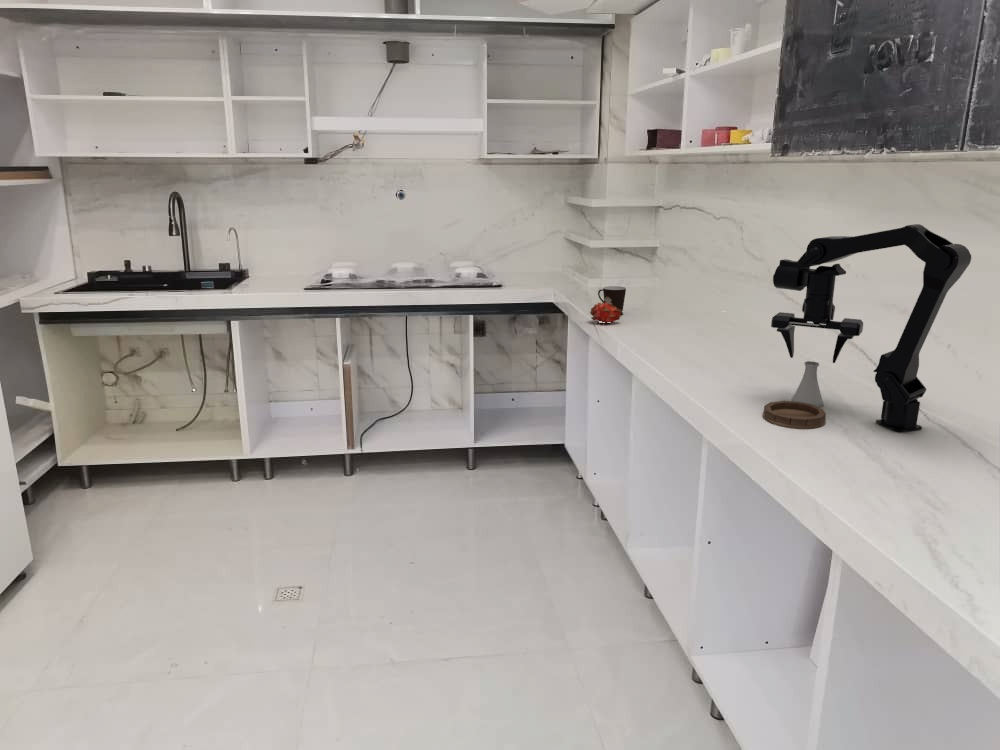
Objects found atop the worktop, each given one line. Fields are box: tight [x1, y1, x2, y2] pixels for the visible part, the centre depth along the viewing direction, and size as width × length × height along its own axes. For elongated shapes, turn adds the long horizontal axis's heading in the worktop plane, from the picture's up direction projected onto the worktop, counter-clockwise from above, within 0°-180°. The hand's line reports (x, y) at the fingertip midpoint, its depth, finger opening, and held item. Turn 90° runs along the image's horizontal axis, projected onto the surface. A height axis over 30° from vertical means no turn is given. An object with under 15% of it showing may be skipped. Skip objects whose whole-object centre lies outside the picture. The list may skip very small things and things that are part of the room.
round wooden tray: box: [762, 400, 827, 430], centre depth 161 cm, size 13×13×2 cm
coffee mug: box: [597, 285, 627, 311], centre depth 276 cm, size 12×9×10 cm
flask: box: [791, 360, 824, 408], centre depth 170 cm, size 7×7×10 cm
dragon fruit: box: [589, 302, 624, 323], centre depth 258 cm, size 8×8×12 cm
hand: (812, 360), depth 168 cm, fingers open, 9 cm apart
